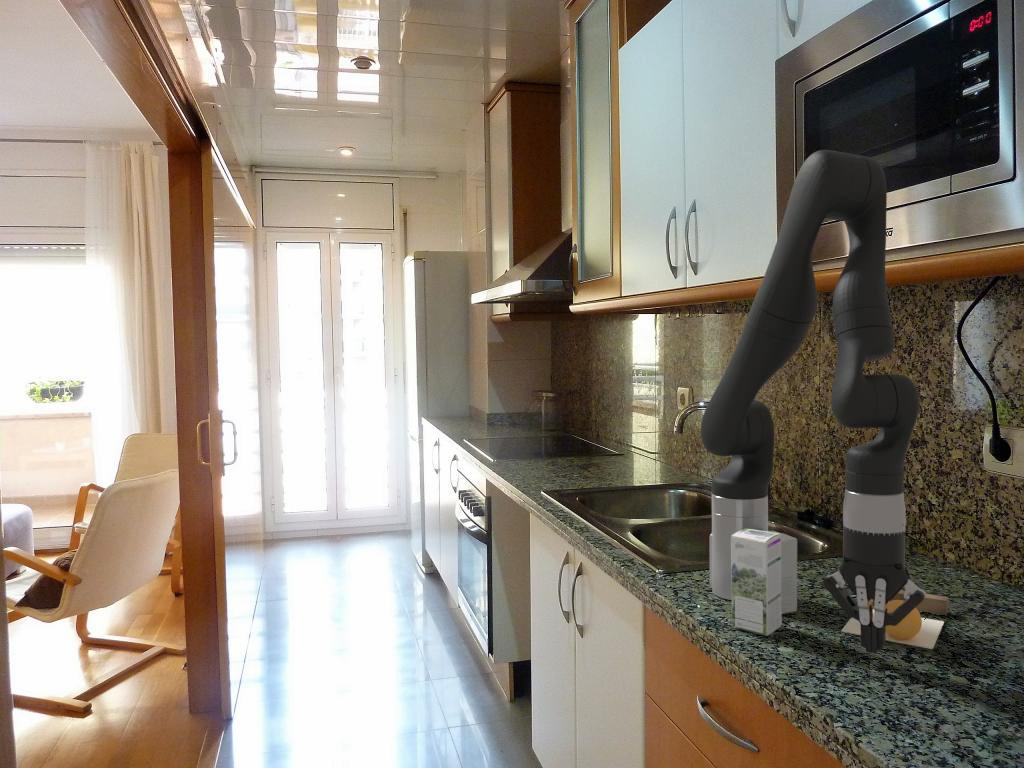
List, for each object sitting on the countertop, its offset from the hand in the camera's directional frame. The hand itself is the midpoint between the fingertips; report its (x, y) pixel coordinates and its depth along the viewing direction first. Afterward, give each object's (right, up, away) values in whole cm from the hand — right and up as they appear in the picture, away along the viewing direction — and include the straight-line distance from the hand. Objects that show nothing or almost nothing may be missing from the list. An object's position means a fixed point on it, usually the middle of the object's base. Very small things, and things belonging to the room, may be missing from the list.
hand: (873, 651), depth 104 cm
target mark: (+9, -1, +12) cm, 15 cm away
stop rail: (+15, 0, +20) cm, 25 cm away
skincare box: (-6, -1, +22) cm, 22 cm away
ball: (+8, +2, +8) cm, 11 cm away
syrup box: (-11, -1, +13) cm, 18 cm away
